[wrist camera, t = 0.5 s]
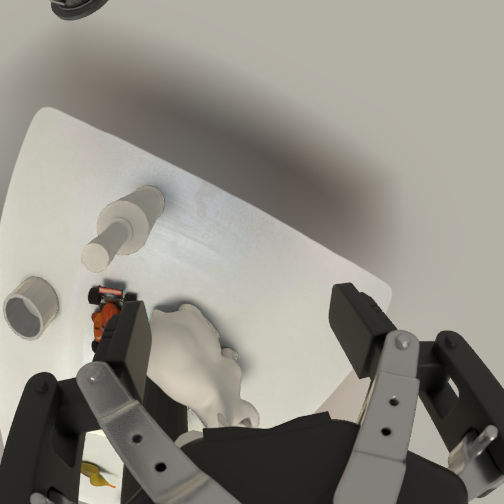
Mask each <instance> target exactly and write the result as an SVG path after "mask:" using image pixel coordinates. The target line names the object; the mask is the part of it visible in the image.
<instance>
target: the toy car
mask: <svg viewBox="0 0 504 504" xmlns="http://www.w3.org/2000/svg"><path fill="white" fill-rule="evenodd" d="M102 296H104V297H102ZM102 298H103V299H104V302H108V303H106V304H105V305H104V306H101V303H100V302H101V299H102ZM120 299H121V300H123V301H121V300H120ZM88 301H89V303H90V304H95V305H99V307H100V310H99V311H98V312H96V313H93V314H92V316H91V318H92V321H93V322H94V336H95V340H96V341H92V350H93V352H94V353H95V352H96V349H97V347H98V344H99V341H100V339H101V336H102V333H103V332H104V328H105V325H106V323H107V321H108V320H109V319H110V318H111V317H112V316H113V315H114V314H120V313H121V311H122V308H123V305H124V303H125V302H126V301H136V296H135V295H129V294H126V295H125V298H123V289H122V290H118V289H112V288H106V287H101V286H100V285H99V286H98V289H96V288H91V289H90V291H89V294H88ZM118 301H121V302H123V305H122V307H121V309H118V308H117V306H116V302H118Z"/></svg>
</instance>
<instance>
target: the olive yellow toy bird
mask: <svg viewBox="0 0 504 504" xmlns="http://www.w3.org/2000/svg"><path fill="white" fill-rule="evenodd" d="M81 473H82V474H84V475H85V476H87V477H89V478H90V483H91V484H92V485H93V486H104V485H108V486H110V487H113V488H115V486H112V485H110V484H109V483H108V482H107V481H106V480H105V479H104V478H103V477H102V476H101V475H100V474H99V469H98V468H97V467H96V466H95V465H92V464H89V463H82V465H81Z"/></svg>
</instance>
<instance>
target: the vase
mask: <svg viewBox="0 0 504 504" xmlns="http://www.w3.org/2000/svg"><path fill="white" fill-rule="evenodd" d="M142 406H143V407H144V408H145V409H146V411H147V412H148V413H149V414H150V415H151V417H152V418H153V419H154V420H155V421H156V423H157V424H158V425H159V426H160V427H161V428H162V430H163V431H164V432H165V433H166V434H167V435H168V436H169V437H170V439H171V440H172V441H173V442H174V443H175V441H176V440H177V438H178V437H179V436H180V435H182V434H184V433H186V432H188V420H187V406H185V405H183V404H181V403H179V402H177V401H175V400H174V399H172V398H171V397H169V396H168V395H167V394H166V393H165V392H164V391H163V390H162V389H161V388H160V387H159V386H158V385H157V384H156V383H155V382H153V381H152V380H151V379H150V378H149V377H148V376H146V383H145V390H144V397H143V404H142ZM140 488H141V485H140V484H139V483H138V481H137V480H136V479H135V478H134V476H133V475H132V474H131V472H130V471H129V469H128V468H127V467H126V465H125V464H124V467H123V478H122V490H121V504H126V503H127V502H128V501H129V500H130V499H131V498H132V497H133V496H134V495H135V494H136V493H137V491H138V490H139V489H140Z"/></svg>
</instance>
